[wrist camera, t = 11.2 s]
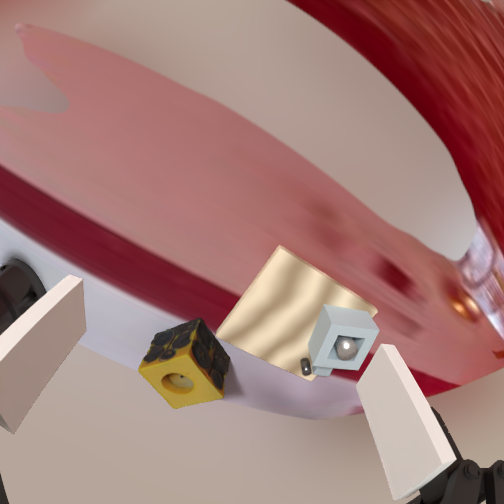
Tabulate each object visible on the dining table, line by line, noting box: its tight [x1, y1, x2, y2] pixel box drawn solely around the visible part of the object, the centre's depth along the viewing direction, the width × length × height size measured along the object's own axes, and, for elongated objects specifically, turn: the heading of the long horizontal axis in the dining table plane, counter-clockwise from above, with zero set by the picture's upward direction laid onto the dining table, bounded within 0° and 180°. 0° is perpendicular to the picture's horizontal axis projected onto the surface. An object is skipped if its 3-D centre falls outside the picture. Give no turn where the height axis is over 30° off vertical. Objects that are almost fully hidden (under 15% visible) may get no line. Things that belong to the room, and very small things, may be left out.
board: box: [216, 244, 378, 381], centre depth 45 cm, size 20×18×2 cm
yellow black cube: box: [138, 318, 230, 409], centre depth 43 cm, size 10×10×10 cm
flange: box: [308, 304, 379, 376], centre depth 43 cm, size 13×8×6 cm, turn 167°
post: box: [334, 335, 358, 360], centre depth 41 cm, size 3×3×6 cm
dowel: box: [300, 358, 312, 376], centre depth 45 cm, size 2×2×3 cm
